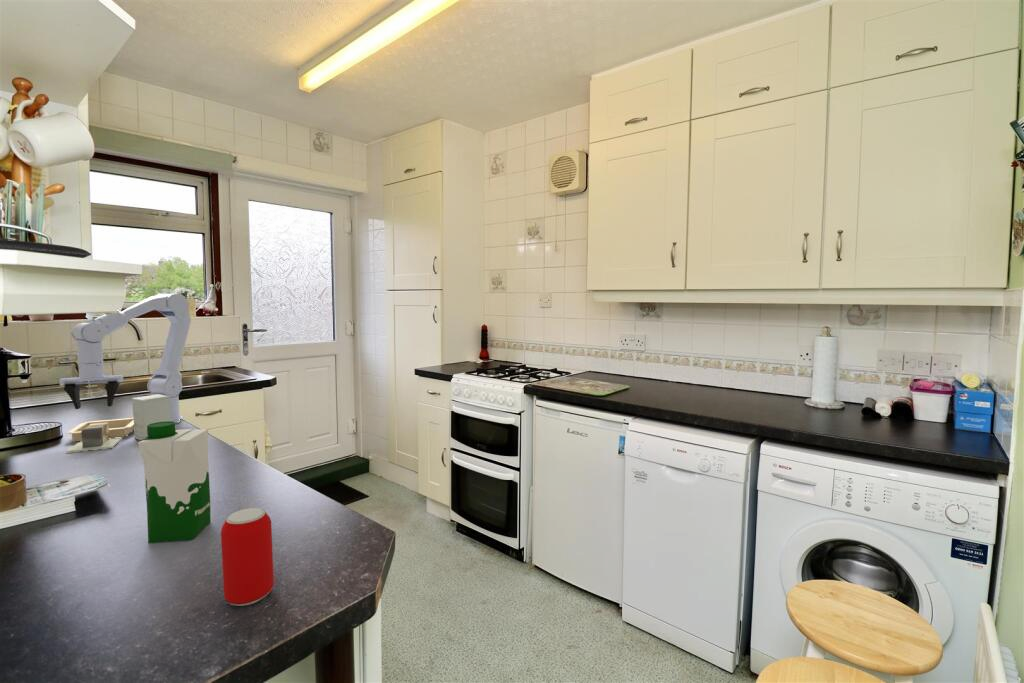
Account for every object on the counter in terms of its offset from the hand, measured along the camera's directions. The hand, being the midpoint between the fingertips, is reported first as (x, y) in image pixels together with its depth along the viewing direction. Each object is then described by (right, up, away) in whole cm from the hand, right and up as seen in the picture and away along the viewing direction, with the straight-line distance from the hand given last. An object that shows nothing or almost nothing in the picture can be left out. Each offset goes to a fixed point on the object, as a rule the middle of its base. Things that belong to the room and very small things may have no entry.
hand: (94, 407), depth 147 cm
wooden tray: (0, -9, +4) cm, 10 cm away
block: (+7, -9, -7) cm, 14 cm away
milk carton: (+67, -15, -60) cm, 91 cm away
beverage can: (+90, -16, -79) cm, 121 cm away
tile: (+7, -10, -8) cm, 15 cm away
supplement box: (+18, -10, +1) cm, 20 cm away
